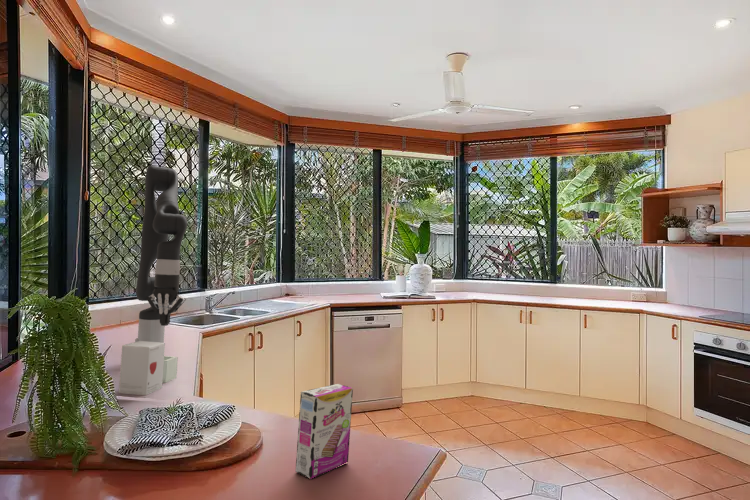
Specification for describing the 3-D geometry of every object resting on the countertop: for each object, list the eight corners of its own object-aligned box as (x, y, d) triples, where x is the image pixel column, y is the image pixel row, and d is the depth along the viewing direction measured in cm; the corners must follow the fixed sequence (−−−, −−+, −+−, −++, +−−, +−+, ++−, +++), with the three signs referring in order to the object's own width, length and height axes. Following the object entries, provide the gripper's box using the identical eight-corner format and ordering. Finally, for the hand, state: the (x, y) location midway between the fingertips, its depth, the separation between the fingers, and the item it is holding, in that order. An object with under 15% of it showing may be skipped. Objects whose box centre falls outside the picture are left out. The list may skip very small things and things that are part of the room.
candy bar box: (311, 481, 94) (316, 396, 94) (294, 473, 97) (298, 391, 97) (350, 464, 103) (354, 387, 103) (333, 457, 106) (337, 382, 106)
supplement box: (146, 398, 141) (149, 347, 141) (117, 395, 142) (120, 345, 143) (163, 390, 150) (166, 342, 151) (136, 388, 151) (139, 340, 152)
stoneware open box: (145, 384, 156) (146, 359, 156) (156, 379, 163) (157, 355, 163) (165, 385, 156) (167, 360, 156) (176, 380, 163) (177, 356, 163)
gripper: (191, 274, 164) (188, 325, 163) (154, 272, 165) (151, 323, 164) (181, 274, 156) (178, 327, 156) (142, 272, 157) (139, 325, 157)
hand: (164, 325), depth 160 cm, fingers closed
